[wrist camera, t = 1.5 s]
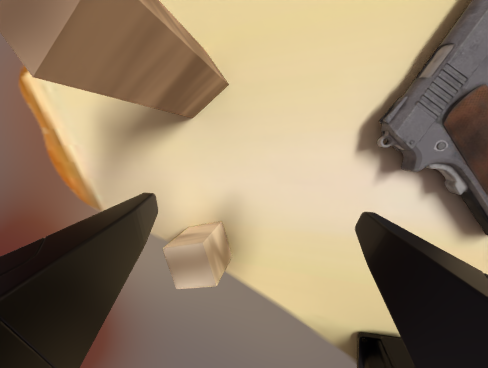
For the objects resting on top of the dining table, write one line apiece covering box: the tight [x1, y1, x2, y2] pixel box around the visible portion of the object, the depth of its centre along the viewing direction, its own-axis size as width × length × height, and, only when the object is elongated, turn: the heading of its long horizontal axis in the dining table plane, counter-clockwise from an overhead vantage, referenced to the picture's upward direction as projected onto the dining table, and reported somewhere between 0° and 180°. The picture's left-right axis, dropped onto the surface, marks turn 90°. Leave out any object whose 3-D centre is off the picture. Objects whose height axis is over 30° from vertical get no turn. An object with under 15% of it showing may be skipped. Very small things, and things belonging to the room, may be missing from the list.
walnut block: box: [0, 0, 229, 118], centre depth 13 cm, size 4×5×13 cm
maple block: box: [163, 221, 232, 289], centre depth 20 cm, size 4×4×5 cm
